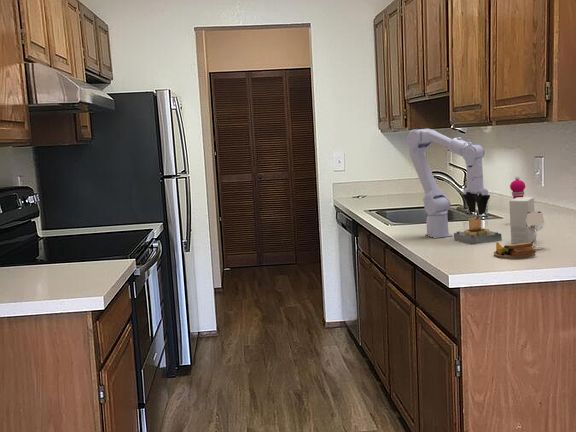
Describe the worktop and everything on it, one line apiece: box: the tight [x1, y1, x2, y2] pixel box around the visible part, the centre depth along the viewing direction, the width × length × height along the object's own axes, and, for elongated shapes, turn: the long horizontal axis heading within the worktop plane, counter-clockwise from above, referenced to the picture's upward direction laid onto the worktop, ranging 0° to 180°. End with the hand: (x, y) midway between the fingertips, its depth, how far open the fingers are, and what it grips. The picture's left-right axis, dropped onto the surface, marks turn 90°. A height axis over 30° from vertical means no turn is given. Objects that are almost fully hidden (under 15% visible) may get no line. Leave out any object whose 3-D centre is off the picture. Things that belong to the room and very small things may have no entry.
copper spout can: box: [468, 215, 482, 232], centre depth 224 cm, size 4×4×7 cm
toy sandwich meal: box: [493, 241, 537, 259], centre depth 191 cm, size 12×14×5 cm
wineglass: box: [525, 210, 545, 250], centre depth 199 cm, size 6×6×12 cm
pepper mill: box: [509, 176, 526, 199], centre depth 252 cm, size 7×7×20 cm
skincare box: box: [509, 196, 535, 245], centre depth 211 cm, size 8×7×16 cm
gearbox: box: [453, 227, 503, 245], centre depth 226 cm, size 17×12×4 cm
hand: (477, 212), depth 226 cm, fingers open, 7 cm apart
